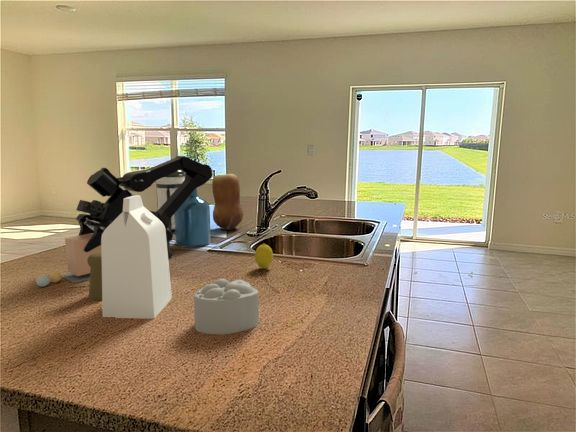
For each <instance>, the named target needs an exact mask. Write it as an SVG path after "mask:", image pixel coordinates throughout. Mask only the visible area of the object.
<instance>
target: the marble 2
mask: <svg viewBox="0 0 576 432" xmlns="http://www.w3.org/2000/svg"><path fill="white" fill-rule="evenodd" d="M61 275H62V274H61V273H60V272H59V271H52V272H51V273H49V275H48V278H49V280H50V281H49V282H51V283H55V284H56V283H59V282H60V281H61V280H62V277H61Z"/></svg>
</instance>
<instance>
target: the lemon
mask: <svg viewBox="0 0 576 432" xmlns="http://www.w3.org/2000/svg"><path fill="white" fill-rule="evenodd" d="M254 252H255V253H254V260H255V263H256V265H257V266H259V267H261V268H262V269H263V270H265V269H266V268H268V267H270V266H271V264H272V263H273V260H274V254H273V249H272V248H271V247H270V246H269V245H268V244H266V243H262V244H260V245H258V247H257V248H256V250H255V251H254Z"/></svg>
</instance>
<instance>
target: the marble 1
mask: <svg viewBox="0 0 576 432" xmlns="http://www.w3.org/2000/svg"><path fill="white" fill-rule="evenodd" d="M35 282H36V284H37V286H38V287H41V288H42V287H43V288H44V287H47V286H48V285H49V284H50V282H51V281H50V280H49V276H47V275H45V274H41V275H40V276H38V277H37V278H36V281H35Z"/></svg>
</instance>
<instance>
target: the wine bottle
mask: <svg viewBox="0 0 576 432" xmlns="http://www.w3.org/2000/svg"><path fill="white" fill-rule="evenodd" d="M185 175H186V173H185ZM210 210H211V209H210V204H209V202H207V200H205V199H204V198H203V197H200V196H199V195H198V188H196V189H195V190H194V191H193V192H192V194H191V195H190V196H189V197H188V198H187V199H186V201H185V202H184V203H183V204H182V205H181V207H180V208H179V209H178V210H177V211H176V212H175V214H174V220H175V229H174V236H175V237H174V239H175V244H176V246H179V247H182V248H199V247H203V246H206V245H209V244H210V243H211V211H210Z"/></svg>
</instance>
